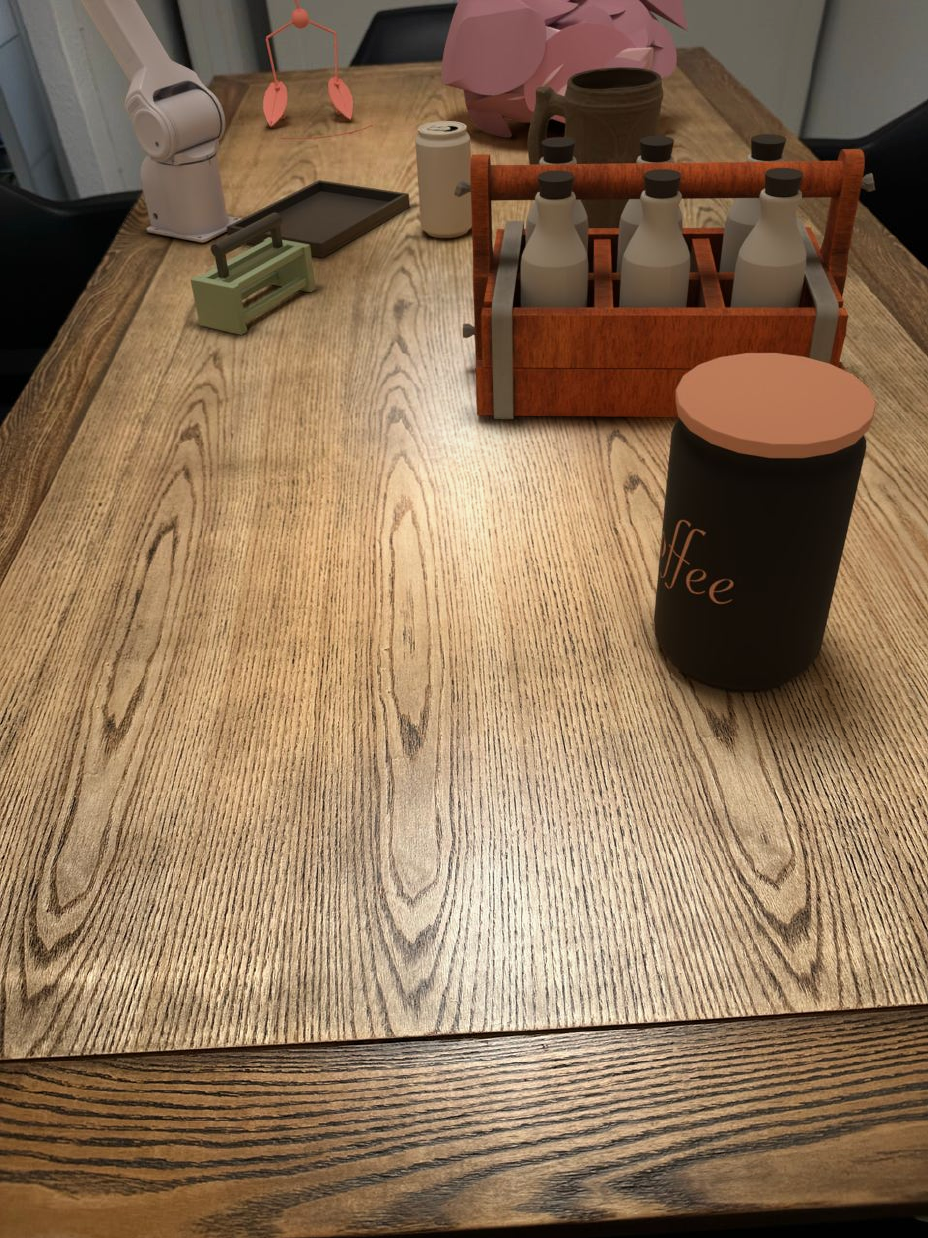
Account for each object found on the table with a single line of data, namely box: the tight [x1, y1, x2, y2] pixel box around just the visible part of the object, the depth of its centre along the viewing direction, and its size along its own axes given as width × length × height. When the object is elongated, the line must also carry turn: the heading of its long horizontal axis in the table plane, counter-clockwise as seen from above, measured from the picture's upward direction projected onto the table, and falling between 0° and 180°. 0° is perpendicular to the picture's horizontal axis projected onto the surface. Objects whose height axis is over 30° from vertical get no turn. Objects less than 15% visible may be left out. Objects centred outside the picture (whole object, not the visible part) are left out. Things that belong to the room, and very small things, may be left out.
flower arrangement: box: [440, 0, 689, 138], centre depth 155 cm, size 35×24×28 cm
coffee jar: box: [653, 353, 877, 693], centre depth 64 cm, size 11×11×18 cm
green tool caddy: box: [190, 213, 317, 336], centre depth 113 cm, size 6×13×8 cm, turn 150°
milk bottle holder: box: [454, 133, 876, 420], centre depth 94 cm, size 21×35×19 cm, turn 85°
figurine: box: [243, 0, 374, 140], centre depth 157 cm, size 15×26×35 cm, turn 96°
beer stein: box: [527, 67, 665, 228], centre depth 115 cm, size 15×11×20 cm
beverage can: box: [414, 120, 472, 239], centre depth 127 cm, size 6×6×12 cm
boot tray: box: [226, 179, 411, 259], centre depth 134 cm, size 14×19×2 cm
